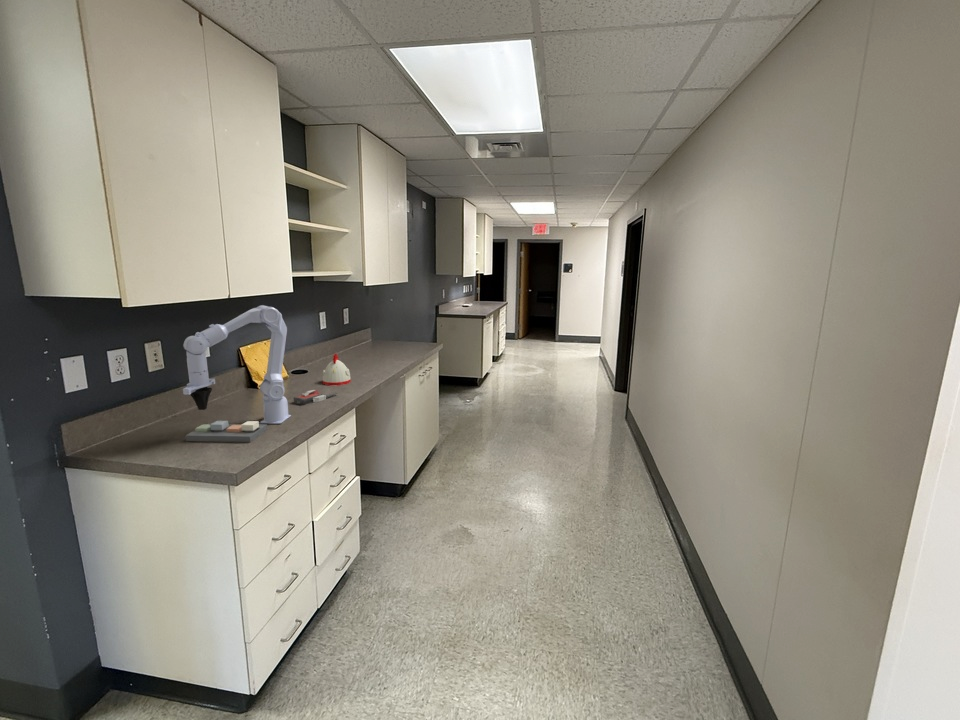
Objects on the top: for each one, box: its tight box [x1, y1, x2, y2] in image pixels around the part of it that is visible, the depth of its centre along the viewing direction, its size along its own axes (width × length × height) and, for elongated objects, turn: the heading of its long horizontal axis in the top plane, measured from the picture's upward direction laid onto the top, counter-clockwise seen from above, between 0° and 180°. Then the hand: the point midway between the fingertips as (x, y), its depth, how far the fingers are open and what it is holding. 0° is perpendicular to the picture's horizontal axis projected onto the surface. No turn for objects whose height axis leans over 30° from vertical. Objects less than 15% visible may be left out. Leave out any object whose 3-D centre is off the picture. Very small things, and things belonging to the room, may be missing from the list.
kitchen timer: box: [322, 353, 352, 386], centre depth 230 cm, size 14×14×15 cm
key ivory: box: [241, 420, 260, 433], centre depth 156 cm, size 4×4×3 cm
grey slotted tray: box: [185, 423, 268, 443], centre depth 156 cm, size 12×22×2 cm, turn 89°
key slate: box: [209, 420, 230, 432], centre depth 156 cm, size 4×4×3 cm
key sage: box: [195, 423, 211, 432], centre depth 156 cm, size 4×4×3 cm
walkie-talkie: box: [293, 389, 338, 406], centre depth 201 cm, size 9×4×20 cm
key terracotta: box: [226, 425, 242, 432], centre depth 156 cm, size 4×4×3 cm
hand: (202, 409), depth 155 cm, fingers closed
